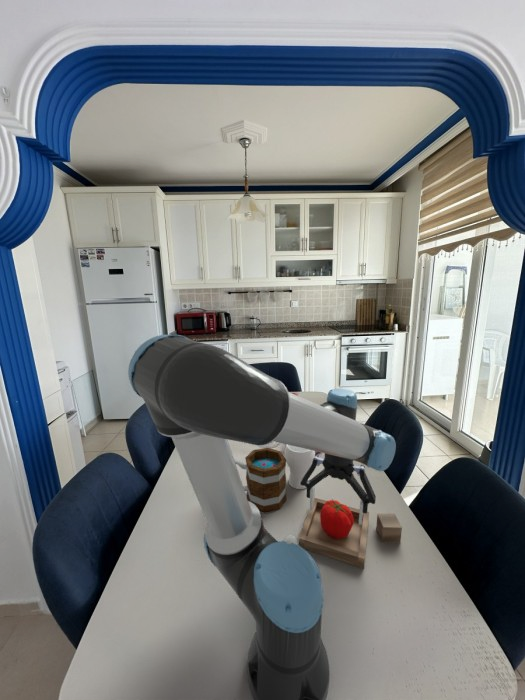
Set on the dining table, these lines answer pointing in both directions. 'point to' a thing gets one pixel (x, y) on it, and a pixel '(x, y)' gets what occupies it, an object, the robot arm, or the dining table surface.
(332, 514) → the tomato
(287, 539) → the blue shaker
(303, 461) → the cup
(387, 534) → the walnut block
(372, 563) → the dining table surface
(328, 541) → the tray
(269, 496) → the mug
